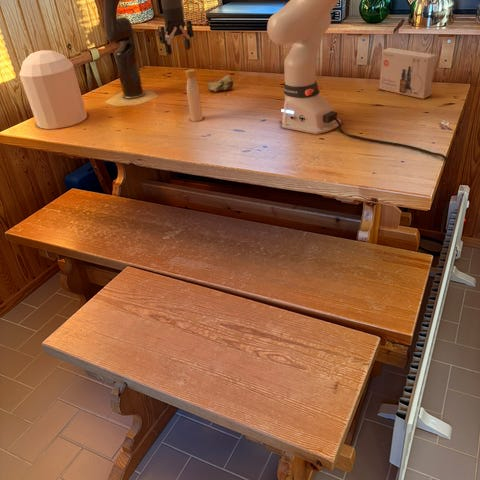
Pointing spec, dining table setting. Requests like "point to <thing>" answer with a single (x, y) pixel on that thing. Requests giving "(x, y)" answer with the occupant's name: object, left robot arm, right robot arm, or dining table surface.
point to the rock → (221, 84)
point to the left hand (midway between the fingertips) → (178, 51)
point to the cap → (190, 73)
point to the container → (52, 90)
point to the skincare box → (407, 72)
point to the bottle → (194, 100)
